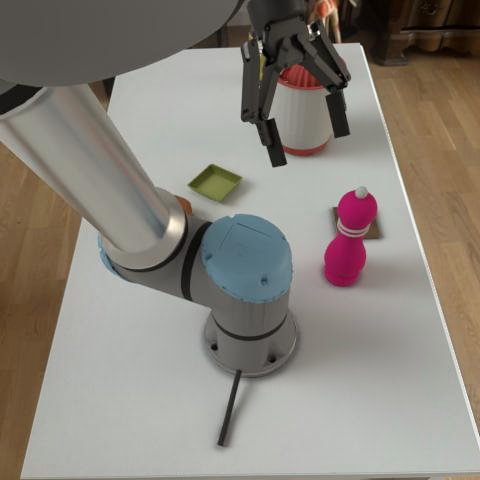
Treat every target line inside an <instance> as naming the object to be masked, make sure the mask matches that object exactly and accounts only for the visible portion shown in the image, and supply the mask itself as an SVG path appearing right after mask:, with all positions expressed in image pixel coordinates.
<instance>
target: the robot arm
mask: <svg viewBox="0 0 480 480" xmlns="http://www.w3.org/2000/svg"><path fill="white" fill-rule="evenodd" d="M246 1H247V0H0V142H1V143H2V144H3V145H4V146H5V147H6V148H7V149H8V150H10V151H11V153H13V154H14V155H15V156H16V157H17V158H19V159H20V161H22V162H23V163H24V164H25V165H26V166H27V167H28V169H30V170H31V171H32V172H34V173H35V174H36V175H37V176H38V177H39V178H40V179H41V180H42V181H43V182H44V183H45V184H47V186H49V187H50V189H52V190H53V191H55V193H56V194H57V195H58V196H60V197H61V198H62V199H63V200H64V201H65V202H66V203H67V204H68V205H69V206H70V207H72V208H73V210H75V211H76V212H77V213H78V214H79V215H80V217H82V218H83V219H84V220H86V221H87V222H88V223H89V224H90V225H91V227H93V228H94V229H95V230H96V231H97V232H98V233H97V247H98V248H99V249H100V251H99V256H100V260H101V262H102V263H103V266H104V267H105V268H106V269H107V271H109V272H110V273H111V274H113V275H114V276H117V277H119V278H120V279H122V280H123V281H126V282H128V283H131V284H136V285H140V286H144V287H145V288H149V289H152V290H155V291H158V292H161V293H164V294H167V295H170V296H172V297H176V298H179V299H182V300H185V301H187V302H190V303H194V304H196V305H200V306H203V307H206V308H208V309H210V313H209V314H208V317H207V318H206V319H207V320H206V322H205V324H204V341H205V346H206V350H207V352H208V354H209V356H210V358H211V359H212V361H213V362H214V363H215V364H216V365H217V366H218V367H219V368H220V369H222V370H224V371H225V372H227V373H229V374H230V375H234V378H233V382H232V387H231V391H230V393H229V398H228V402H227V406H226V410H225V415H224V418H223V422H222V426H221V429H220V434H219V436H218V439H217V444H216V445H217V446H219V447H223V446H224V444H225V440H226V437H227V433H228V429H229V425H230V421H231V417H232V414H233V410H234V406H235V401H236V396H237V393H238V389H239V385H240V380H241V378H258V377H264V376H267V375H269V374H272V373H274V372H275V371H278V370H279V369H281V368H282V366H284V365H285V364H286V363H287V362H288V361H289V359H290V358H291V356H292V354H293V352H294V350H295V346H296V341H297V333H298V331H299V330H298V328H297V327H298V326H297V323H296V318H295V316H294V315H292V313H291V311H290V309H289V302H290V294H291V293H290V292H291V285H292V281H293V277H294V276H293V273H294V270H293V254H292V249H291V246H290V243H289V241H288V240H287V237H286V235H285V234H284V233H283V232H282V230H281V229H280V228H279V227H278V226H276V225H275V224H274V223H272V222H271V221H269V220H268V219H265V218H263V217H261V216H258V215H254V214H248V213H236V214H235V213H234V216H233V217H231V216H229V215H225V216H222V217H220V218H218V219H217V220H215V221H211V220H207V219H203V218H200V217H197V216H193V215H192V216H190V215H188V214H186V212H185V211H184V209H183V207H182V206H181V204H180V202H179V201H178V200H177V199H176V198H175V197H174V196H173V195H174V194H172V192H170V191H168V190H167V189H166V188H163V187H160V186H155V184H154V182H153V181H152V180H151V178H150V177H149V175H148V173H147V172H146V170H145V169H144V167H143V166H142V164H141V163H140V161H139V160H138V158H137V157H136V155H135V154H134V152H133V151H132V149H131V148H130V145H128V143H127V142H126V140H125V138H124V137H123V135H122V134H121V132H120V131H119V129H118V128H117V126H116V125H115V123H114V121H113V120H112V119H111V117H110V116H109V114H108V112H107V111H106V109H105V108H104V107H103V105H102V103H101V102H100V100H99V99H98V97H97V96H96V95H95V93H94V91H93V90H92V88H91V87H90V85H89V84H93V83H97V82H100V81H104V80H107V79H111V78H115V77H118V76H121V75H124V74H127V73H130V72H133V71H137V70H140V69H143V68H145V67H147V66H150V65H153V64H156V63H158V62H160V61H162V60H166V59H168V58H170V57H172V56H174V55H176V54H179V53H180V52H182V51H184V50H186V49H189V48H191V47H193V46H195V45H196V44H198V43H200V42H203V41H204V40H206V39H207V38H208V37H210V36H211V35H213V34H214V33H215V32H217V31H218V30H220V29H221V28H223V27H225V26H226V25H227V24H228V23H230V22H231V21H232V20H233V19H234V18H235V17H236V15H238V13H239V12H240V11H241V9H242V8H243V6H244V5H245V3H246ZM246 11H247V15H248V18H249V21H250V26H251V25H252V29H253V31H254V32H255V33H257V35H258V40H256V39H255V38H253V39H251V40H249V39H248V41H246V42H244V43H242V44H241V45H240V49H239V50H240V54H241V59H242V63H243V64H242V82H241V102H240V103H241V104H240V120H241V122H242V123H250V124H251V125H255V127H256V130H257V133H258V137H259V141H260V144H261V145H262V147H265V148H266V150H267V151H266V152H267V154H268V158H269V161H270V164H271V167H272V169H273V168H281V167H285V166H286V165H288V161H287V157H286V154H285V153H286V152H285V151H284V150H283V146H282V143H281V139H280V136H279V132H278V128H277V125H276V121H275V118H271V119H270V110H271V106H272V102H273V98H274V95H275V91H276V87H277V83H278V79H279V75H280V73H281V72H282V70H283V69H285V68H287V67H291V66H294V65H296V64H298V65H299V66H303V67H304V68H305V69H306V70H307V71H308V72H309V73H310V74H311V75H312V76H313V77H314V78H315V79H316V80H317V81H318V82H319V83H320V84H321V85H322V86H323V87H324V88H325V89H326V90H327V91H328V92H329V93H331V94H329V95H326V96H325V98H326V103H327V107H328V111H329V116H330V120H331V124H332V128H333V131H332V133H333V136H334V137H333V138H334V139H339V138H344V137H348V136H350V135H351V130H350V126H349V121H348V116H347V102H346V98H345V93H344V89H347V88H348V87H349V82H350V81H351V80H352V75H351V72H350V71H349V70H348V67H347V68H346V66H347V65H346V66H345V64H344V63H343V61H342V59H343V58H342V57H341V56H340V54H339V52H338V50H337V49H336V48H335V46H334V44H333V42H332V41H331V38H330V37H329V36H328V34H327V31H326V27H325V24H324V21H323V19H322V18H317V19H315V20H313V21H311V22H309V23H308V24H306V22H305V19H304V15H305V12H306V5H305V1H304V0H248V1H247V5H246ZM261 54H262V55H263V56H264V57H265V61H264V65H263V69H262V73H263V76H262V80H261V84H260V85H259V82H260V65H261V60H260V56H261ZM340 57H341V58H342V59H341V58H340ZM339 74H340V75H341V76H340V75H339Z"/></svg>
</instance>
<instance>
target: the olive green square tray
mask: <svg viewBox="0 0 480 480" xmlns="http://www.w3.org/2000/svg"><path fill="white" fill-rule="evenodd" d="M242 180H243V176H241V175H240V174H237V173H235V172H232V171H230V170H228V169H226V168H223V167H221V166H219V165H217V164H215V163H210V164H209V165H207V166H206V167H205V168H204V169H203V170H202V171H201V172H200V173H198V174H197V175H196V176H195V177H194V178H193V179H192V180H191V181H189V182H188V183H187V187H188V188H189V189H190V190H192V191H193V192H196V193H197V194H200V195H202V196H204V197H206V198H208V199H210V200H212V201H214V202H216V203H220V202H222V200H224V198H225V197H227V196H228V195H229V194H230V193H231V192H232V191H233V190H234V189H235V187H237V186H238V185H239V184H240V183H241V182H242Z"/></svg>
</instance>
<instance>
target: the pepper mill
mask: <svg viewBox="0 0 480 480" xmlns="http://www.w3.org/2000/svg"><path fill="white" fill-rule="evenodd" d="M337 207H338V208H337V213H338V216H339V218H338V223H337V226H338V229H339V231H338V234H337V236H335V237H334V238H333V239H332V240H331V241H330V242H329V244H328V245H327V247H326V249H325V251H324V255H323V261H324V269H323V275H324V278H325V279H326V280H327V281H328V282H329V283H330V284H332V285H334V286H337V287H342V288H343V287H348V286H351V285H353V284H354V283H356V281H357V280H358V279H359V275H360V272H361V271H362V270H363V269H364V267H365V265H366V263H367V251H366V247H365V244H364V239H363V236H364V234H366V233H367V231H368V230H369V226H370V223H371V222H372V221H373V220H374V219H375V218H377V214H378V207H379V206H378V202H377V200H376V198H375V196H374V195H373V194H372V193H371V192H369V191H368V188H367V187H366V186H362V185H360V186H358V187H357V188H356V189H353V190H350V191H348V192H346V193H345V194H343V196H342V197H341V198H340V199H339V201H338V204H337Z"/></svg>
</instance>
